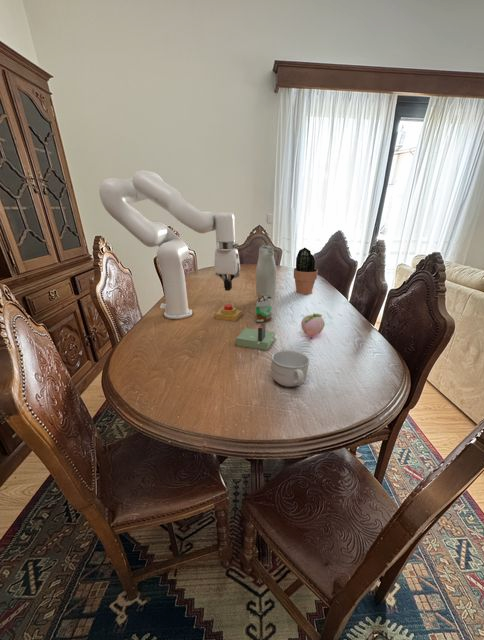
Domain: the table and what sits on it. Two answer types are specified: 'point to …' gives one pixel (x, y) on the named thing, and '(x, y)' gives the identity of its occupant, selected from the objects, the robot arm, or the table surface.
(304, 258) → the potted plant
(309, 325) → the decorative fruit
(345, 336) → the table surface
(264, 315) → the food container
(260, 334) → the black rectangular slab
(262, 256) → the glass bottle
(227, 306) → the button
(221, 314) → the button block
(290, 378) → the teacup
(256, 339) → the panel
